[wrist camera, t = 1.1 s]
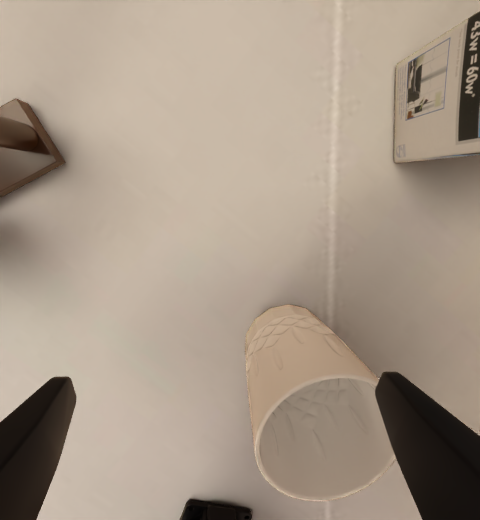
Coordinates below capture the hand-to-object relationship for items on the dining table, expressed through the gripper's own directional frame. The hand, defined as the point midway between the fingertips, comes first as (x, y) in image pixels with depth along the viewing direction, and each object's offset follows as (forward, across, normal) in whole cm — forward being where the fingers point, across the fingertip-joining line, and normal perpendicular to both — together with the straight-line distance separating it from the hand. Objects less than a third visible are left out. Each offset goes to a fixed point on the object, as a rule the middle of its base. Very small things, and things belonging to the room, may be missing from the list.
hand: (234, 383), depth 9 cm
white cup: (+12, -6, +10) cm, 17 cm away
